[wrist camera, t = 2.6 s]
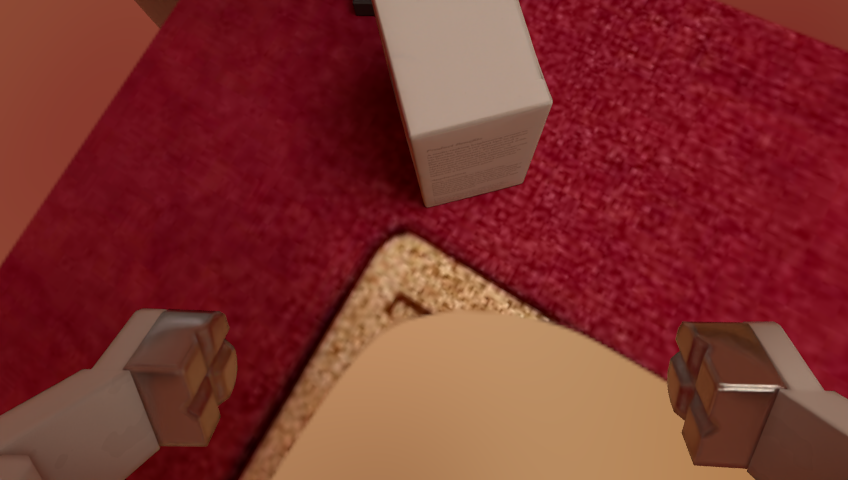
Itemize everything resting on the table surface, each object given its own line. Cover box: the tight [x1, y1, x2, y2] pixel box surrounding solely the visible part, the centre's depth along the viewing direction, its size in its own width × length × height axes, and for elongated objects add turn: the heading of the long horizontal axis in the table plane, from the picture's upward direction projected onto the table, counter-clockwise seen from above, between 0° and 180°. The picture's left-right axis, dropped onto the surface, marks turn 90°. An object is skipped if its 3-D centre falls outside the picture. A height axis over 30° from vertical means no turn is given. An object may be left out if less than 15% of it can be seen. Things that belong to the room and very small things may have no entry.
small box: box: [372, 0, 553, 207], centre depth 28 cm, size 8×6×10 cm
